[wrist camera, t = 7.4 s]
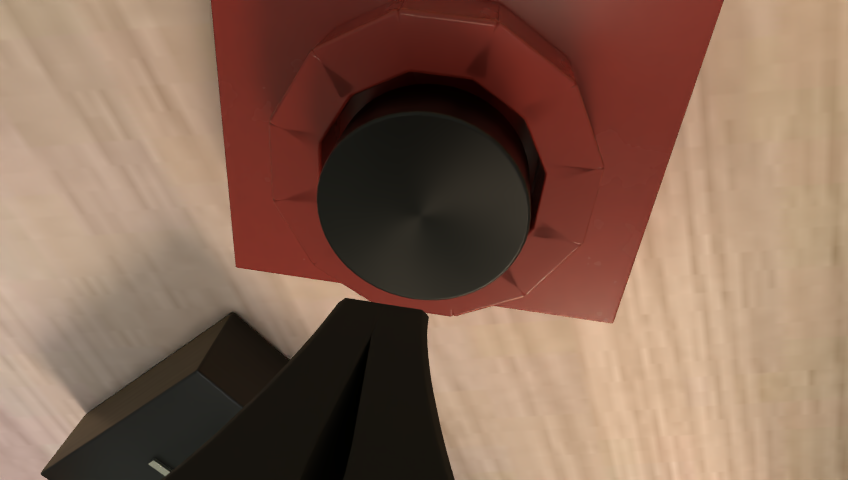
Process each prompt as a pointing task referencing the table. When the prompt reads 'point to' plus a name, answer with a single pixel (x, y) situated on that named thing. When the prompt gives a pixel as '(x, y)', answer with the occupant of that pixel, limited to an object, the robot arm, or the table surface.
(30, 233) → the table surface
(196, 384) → the panel
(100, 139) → the table surface
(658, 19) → the button box
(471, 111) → the button
